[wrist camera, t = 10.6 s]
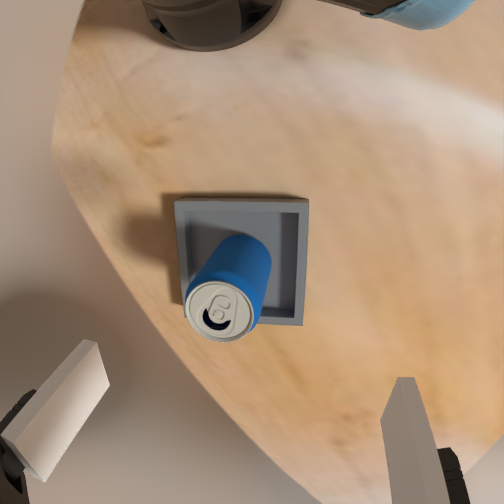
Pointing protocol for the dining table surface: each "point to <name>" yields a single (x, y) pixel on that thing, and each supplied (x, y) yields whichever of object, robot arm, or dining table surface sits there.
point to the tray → (255, 225)
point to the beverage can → (229, 289)
